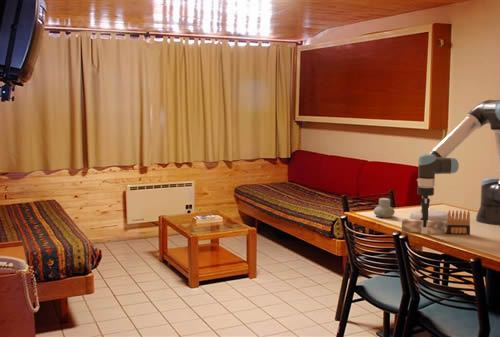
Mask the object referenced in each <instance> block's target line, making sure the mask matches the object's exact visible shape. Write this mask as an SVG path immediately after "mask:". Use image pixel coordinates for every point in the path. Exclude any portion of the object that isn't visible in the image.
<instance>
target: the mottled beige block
mask: <svg viewBox="0 0 500 337" xmlns="http://www.w3.org/2000/svg"><path fill="white" fill-rule="evenodd" d="M446 227H447V226H446V221H435V220H428V231H427V234H439V235H440V234H441V235H447V233H446ZM421 228H422V220H419V219H410V218H402V219H401V232H411V233H421Z"/></svg>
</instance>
